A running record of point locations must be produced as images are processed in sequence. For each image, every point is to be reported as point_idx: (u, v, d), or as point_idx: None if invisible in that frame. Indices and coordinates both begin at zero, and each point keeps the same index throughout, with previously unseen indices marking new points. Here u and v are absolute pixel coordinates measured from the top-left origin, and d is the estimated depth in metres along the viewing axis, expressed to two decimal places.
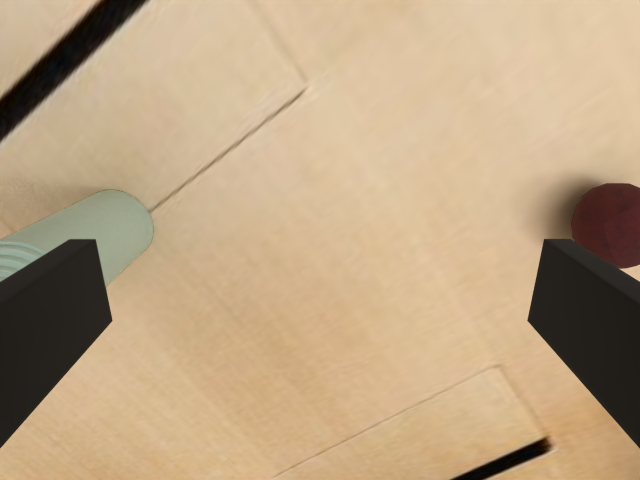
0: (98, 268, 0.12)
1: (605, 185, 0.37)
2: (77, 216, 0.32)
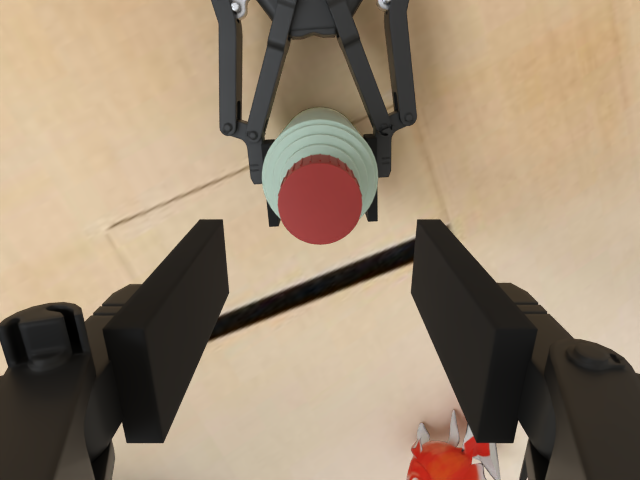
0: (223, 245, 0.14)
1: None
2: None
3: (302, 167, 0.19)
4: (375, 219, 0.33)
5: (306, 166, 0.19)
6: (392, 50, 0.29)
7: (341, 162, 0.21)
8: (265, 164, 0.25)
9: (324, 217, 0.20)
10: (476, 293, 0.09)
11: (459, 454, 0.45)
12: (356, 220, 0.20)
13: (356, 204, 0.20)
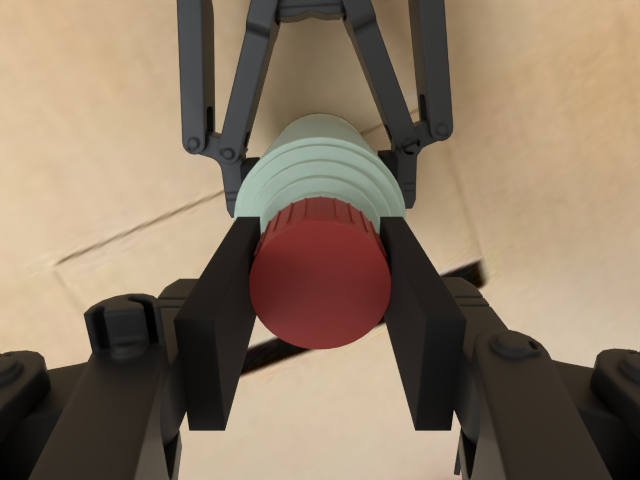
0: None
1: None
2: None
3: (289, 228, 0.11)
4: None
5: (296, 226, 0.11)
6: (421, 36, 0.21)
7: (355, 211, 0.13)
8: (238, 203, 0.17)
9: (327, 308, 0.12)
10: (417, 286, 0.09)
11: None
12: (381, 313, 0.12)
13: (382, 287, 0.12)
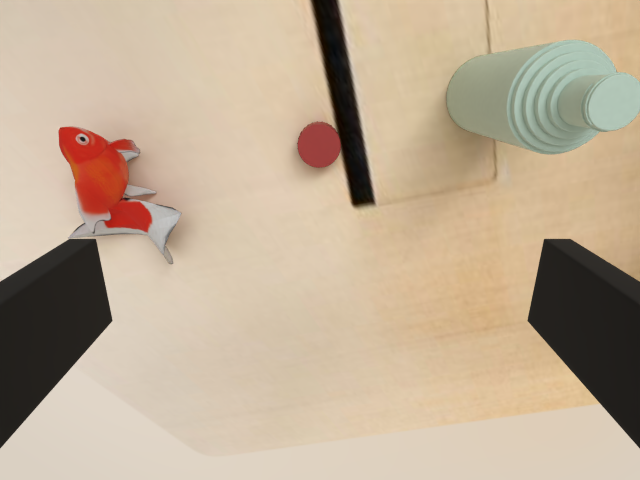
0: (98, 268, 0.12)
1: None
2: (492, 63, 0.32)
3: (331, 128, 0.39)
4: None
5: (333, 130, 0.39)
6: None
7: None
8: None
9: (314, 151, 0.40)
10: None
11: (120, 195, 0.39)
12: (321, 166, 0.40)
13: (328, 162, 0.40)
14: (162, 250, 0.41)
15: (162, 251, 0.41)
